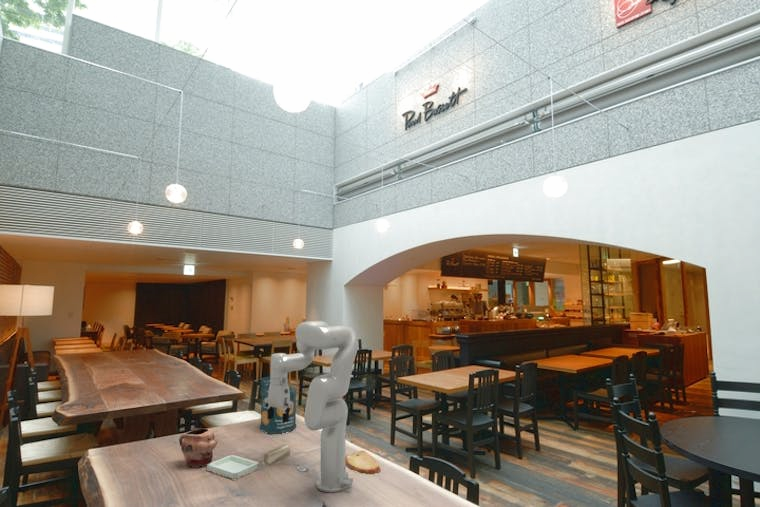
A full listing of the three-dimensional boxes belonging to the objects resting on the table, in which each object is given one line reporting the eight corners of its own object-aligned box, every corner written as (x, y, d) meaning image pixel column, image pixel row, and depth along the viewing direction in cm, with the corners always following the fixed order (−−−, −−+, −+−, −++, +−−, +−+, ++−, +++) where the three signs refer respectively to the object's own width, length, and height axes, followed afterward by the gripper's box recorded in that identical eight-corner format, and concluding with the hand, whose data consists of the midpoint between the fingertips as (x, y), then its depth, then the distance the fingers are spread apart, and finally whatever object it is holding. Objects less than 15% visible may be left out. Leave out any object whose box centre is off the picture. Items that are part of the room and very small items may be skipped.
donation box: (286, 423, 228) (286, 374, 232) (299, 429, 216) (300, 377, 220) (259, 429, 218) (260, 377, 221) (272, 436, 206) (273, 381, 209)
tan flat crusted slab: (379, 476, 157) (378, 466, 157) (336, 472, 160) (336, 463, 161) (387, 458, 174) (387, 449, 175) (348, 456, 178) (348, 447, 178)
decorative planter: (166, 467, 168) (168, 433, 170) (186, 456, 180) (188, 425, 182) (206, 471, 163) (207, 436, 165) (224, 460, 175) (225, 427, 177)
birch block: (289, 457, 177) (290, 446, 178) (269, 467, 167) (269, 454, 168) (283, 455, 179) (283, 444, 180) (263, 465, 169) (263, 453, 170)
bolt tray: (259, 468, 165) (259, 462, 165) (234, 480, 154) (234, 473, 155) (231, 460, 175) (231, 454, 175) (206, 470, 164) (206, 464, 164)
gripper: (298, 381, 176) (297, 421, 174) (272, 377, 186) (271, 415, 184) (286, 384, 170) (285, 425, 168) (259, 380, 179) (258, 419, 177)
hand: (277, 420), depth 176 cm, fingers open, 9 cm apart
